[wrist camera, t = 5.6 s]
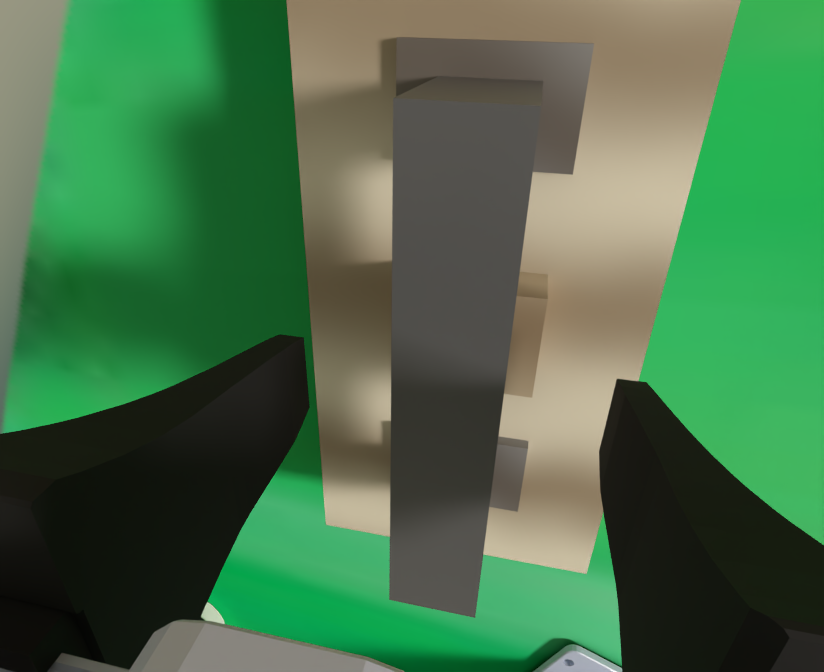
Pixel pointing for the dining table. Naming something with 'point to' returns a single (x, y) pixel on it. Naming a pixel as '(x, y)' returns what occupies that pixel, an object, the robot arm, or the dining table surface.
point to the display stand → (543, 241)
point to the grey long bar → (452, 321)
